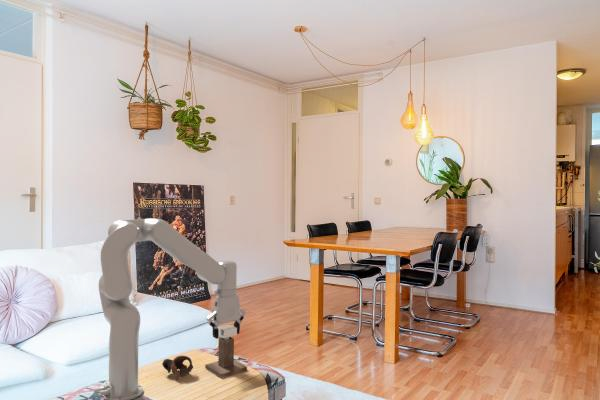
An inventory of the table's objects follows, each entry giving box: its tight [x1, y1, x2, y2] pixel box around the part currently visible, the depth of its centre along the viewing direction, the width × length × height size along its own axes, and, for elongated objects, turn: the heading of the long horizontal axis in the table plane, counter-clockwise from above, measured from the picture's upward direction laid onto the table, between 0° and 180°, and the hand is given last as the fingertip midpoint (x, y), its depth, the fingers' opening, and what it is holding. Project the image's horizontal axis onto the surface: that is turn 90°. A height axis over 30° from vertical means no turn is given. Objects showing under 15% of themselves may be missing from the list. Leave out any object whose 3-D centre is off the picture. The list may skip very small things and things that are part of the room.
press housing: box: [204, 336, 248, 379], centre depth 175 cm, size 12×12×12 cm
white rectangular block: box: [217, 323, 238, 340], centre depth 175 cm, size 6×6×15 cm
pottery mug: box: [161, 355, 194, 380], centre depth 169 cm, size 12×10×8 cm
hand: (226, 335), depth 175 cm, fingers open, 9 cm apart
